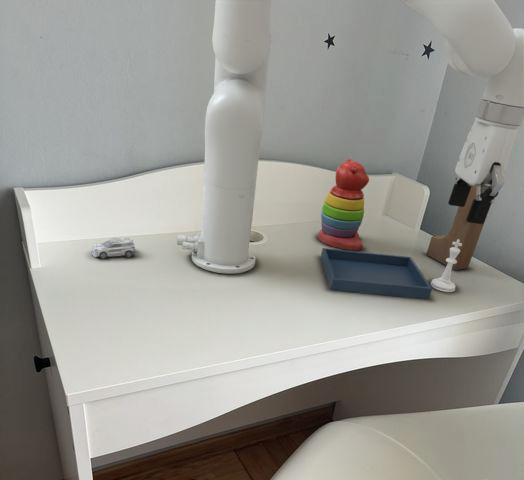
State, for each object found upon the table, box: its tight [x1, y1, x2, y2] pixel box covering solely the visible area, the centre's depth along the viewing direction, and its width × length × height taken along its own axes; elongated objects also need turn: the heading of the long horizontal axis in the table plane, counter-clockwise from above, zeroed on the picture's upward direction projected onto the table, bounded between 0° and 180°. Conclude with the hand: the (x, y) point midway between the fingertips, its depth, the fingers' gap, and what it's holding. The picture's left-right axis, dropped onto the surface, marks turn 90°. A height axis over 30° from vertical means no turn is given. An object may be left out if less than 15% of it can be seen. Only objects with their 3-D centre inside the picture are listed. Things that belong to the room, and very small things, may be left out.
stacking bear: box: [317, 158, 370, 252], centre depth 115 cm, size 11×10×18 cm
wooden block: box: [426, 184, 487, 271], centre depth 112 cm, size 9×4×18 cm, turn 29°
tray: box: [320, 247, 433, 300], centre depth 104 cm, size 19×15×2 cm
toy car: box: [91, 237, 136, 260], centre depth 98 cm, size 4×8×3 cm, turn 114°
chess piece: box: [429, 239, 462, 293], centre depth 102 cm, size 5×5×10 cm
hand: (464, 213), depth 96 cm, fingers open, 9 cm apart
